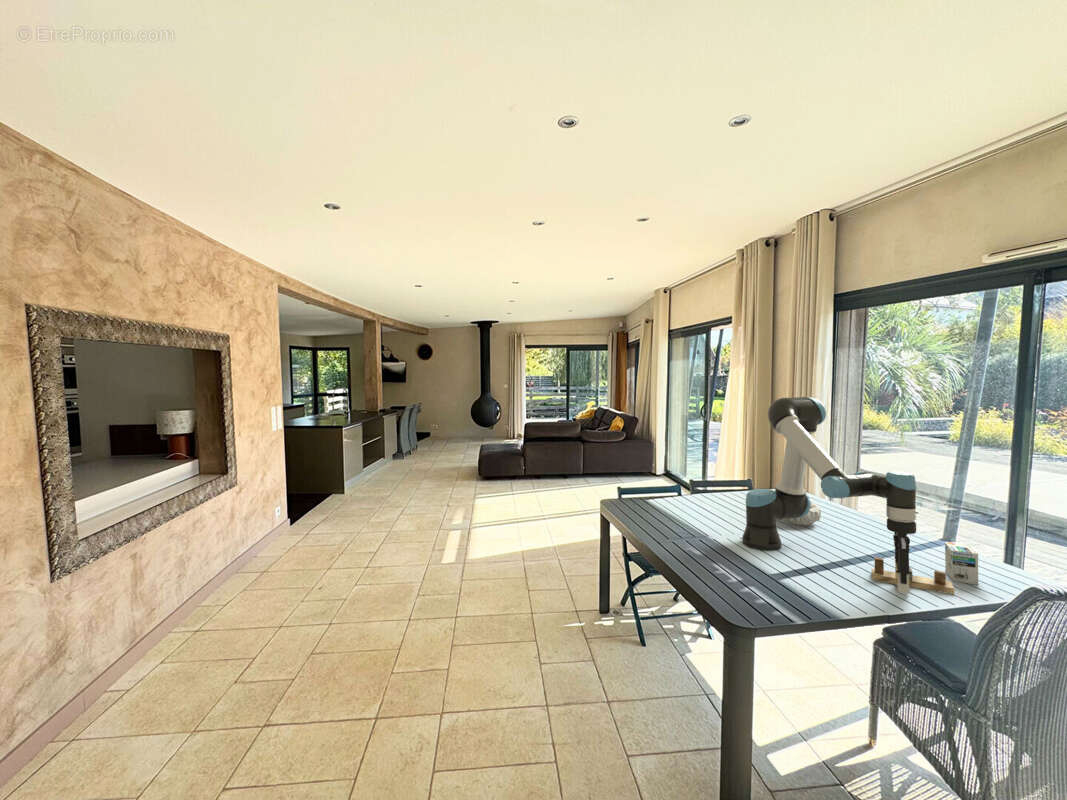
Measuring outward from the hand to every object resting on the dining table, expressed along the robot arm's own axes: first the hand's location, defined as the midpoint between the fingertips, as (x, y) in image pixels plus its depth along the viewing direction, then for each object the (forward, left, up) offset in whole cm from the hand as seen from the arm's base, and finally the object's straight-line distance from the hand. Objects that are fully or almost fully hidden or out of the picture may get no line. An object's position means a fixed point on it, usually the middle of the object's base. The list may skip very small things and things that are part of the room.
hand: (902, 588), depth 147 cm
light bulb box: (+18, +23, -1) cm, 29 cm away
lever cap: (0, 0, +1) cm, 1 cm away
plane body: (+3, +8, -1) cm, 9 cm away
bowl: (-34, +66, -1) cm, 74 cm away
